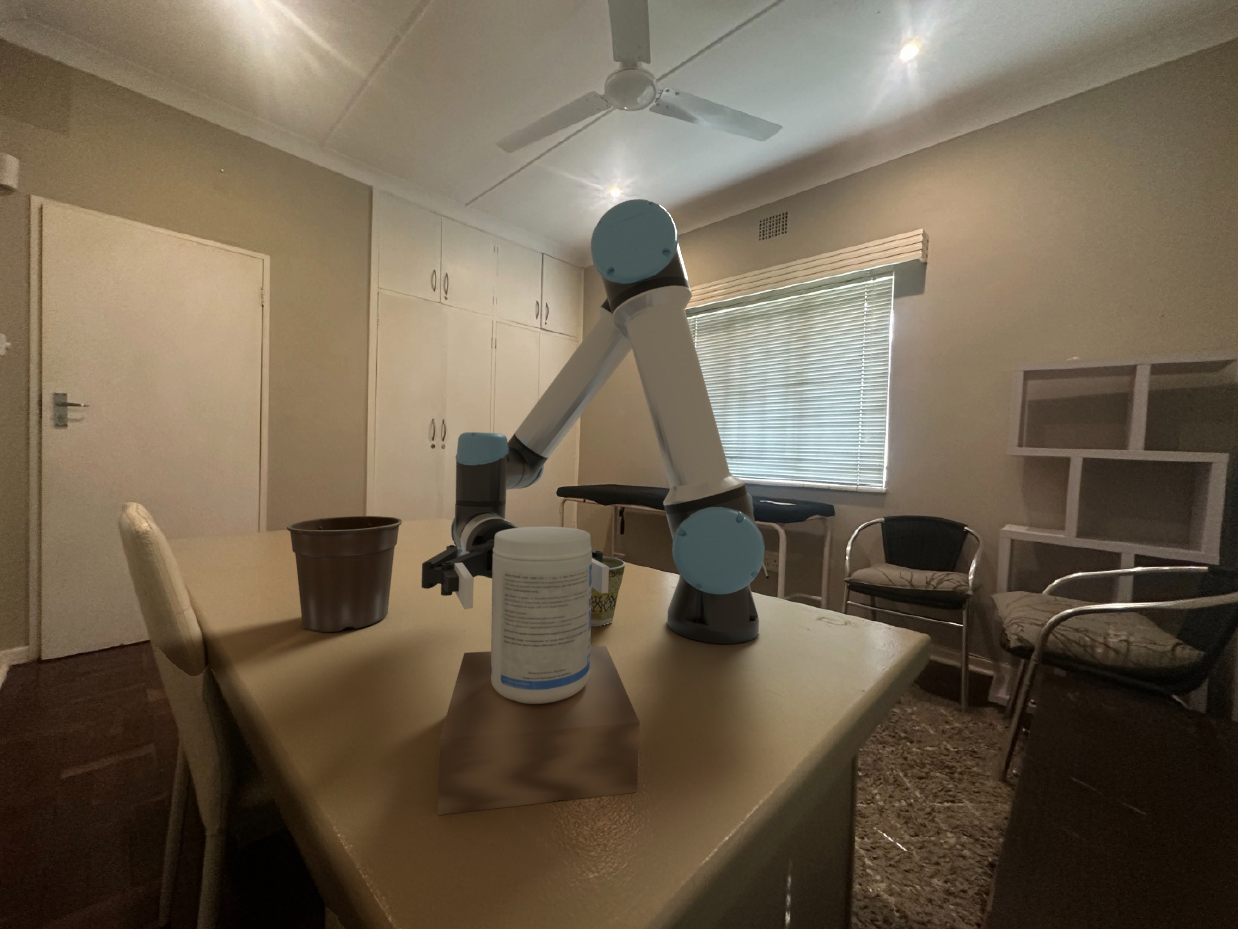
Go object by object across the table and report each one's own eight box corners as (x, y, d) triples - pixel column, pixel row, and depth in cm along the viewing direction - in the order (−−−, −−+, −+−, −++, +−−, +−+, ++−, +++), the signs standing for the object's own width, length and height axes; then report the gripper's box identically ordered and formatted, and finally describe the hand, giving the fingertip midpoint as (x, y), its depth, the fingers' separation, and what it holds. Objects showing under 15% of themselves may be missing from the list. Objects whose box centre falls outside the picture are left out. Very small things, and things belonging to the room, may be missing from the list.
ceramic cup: (622, 631, 76) (624, 570, 76) (561, 629, 76) (563, 567, 76) (623, 606, 89) (625, 553, 89) (570, 604, 89) (572, 551, 89)
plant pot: (257, 636, 69) (259, 527, 69) (329, 602, 86) (331, 513, 85) (364, 641, 69) (366, 531, 68) (416, 606, 85) (419, 517, 85)
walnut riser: (604, 696, 56) (606, 645, 55) (636, 792, 40) (639, 722, 40) (462, 706, 52) (464, 652, 52) (437, 815, 37) (439, 739, 36)
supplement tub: (609, 685, 46) (614, 535, 45) (525, 722, 39) (530, 546, 39) (550, 653, 53) (554, 522, 52) (471, 679, 46) (475, 530, 46)
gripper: (577, 565, 70) (651, 609, 51) (391, 580, 59) (398, 644, 40) (579, 515, 70) (653, 541, 51) (393, 521, 59) (400, 556, 40)
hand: (541, 586), depth 45 cm, fingers open, 13 cm apart
